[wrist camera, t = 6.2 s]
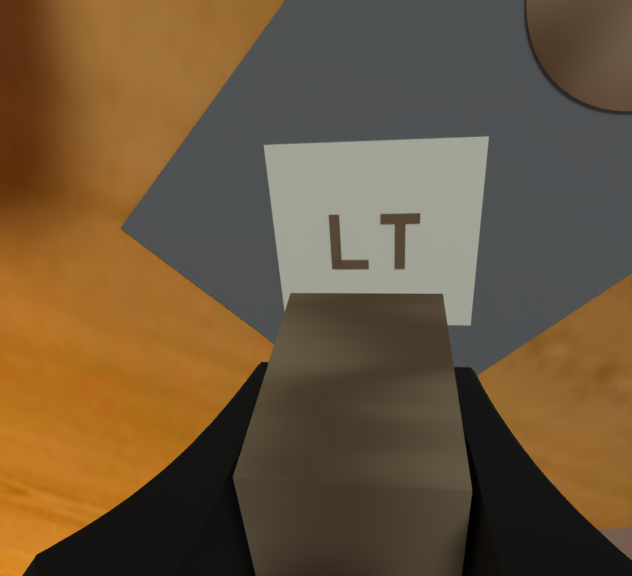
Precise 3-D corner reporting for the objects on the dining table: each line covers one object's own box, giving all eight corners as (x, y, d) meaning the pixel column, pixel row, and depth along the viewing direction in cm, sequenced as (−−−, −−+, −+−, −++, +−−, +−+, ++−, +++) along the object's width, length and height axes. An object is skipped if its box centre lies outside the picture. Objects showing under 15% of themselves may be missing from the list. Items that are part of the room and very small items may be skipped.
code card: (286, 322, 23) (285, 324, 23) (264, 144, 19) (263, 145, 19) (470, 324, 22) (470, 326, 22) (488, 136, 18) (489, 137, 18)
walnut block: (443, 293, 14) (472, 491, 8) (436, 407, 16) (456, 621, 11) (290, 293, 14) (232, 476, 9) (303, 403, 16) (262, 603, 11)
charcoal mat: (988, 34, 15) (991, 35, 15) (391, 430, 26) (391, 431, 26) (670, -530, 11) (671, -533, 11) (121, 227, 22) (120, 228, 22)
